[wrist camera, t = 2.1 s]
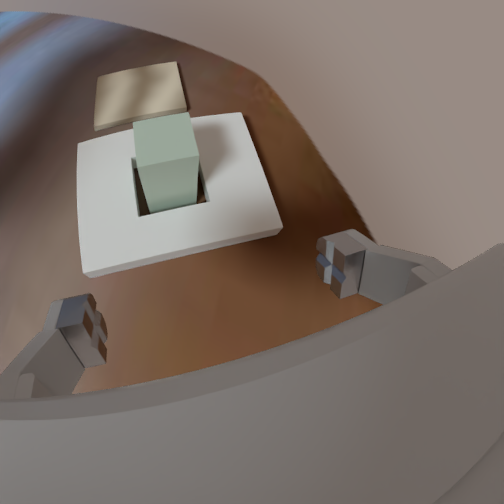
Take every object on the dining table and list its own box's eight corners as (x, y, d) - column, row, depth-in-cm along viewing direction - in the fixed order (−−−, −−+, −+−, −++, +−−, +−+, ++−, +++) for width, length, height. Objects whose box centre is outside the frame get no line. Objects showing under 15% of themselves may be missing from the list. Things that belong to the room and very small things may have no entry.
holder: (90, 278, 23) (83, 273, 21) (82, 154, 26) (77, 143, 24) (277, 234, 28) (283, 227, 26) (238, 123, 31) (241, 112, 29)
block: (150, 213, 26) (137, 167, 18) (144, 174, 27) (132, 122, 19) (196, 203, 27) (199, 155, 19) (187, 165, 28) (188, 112, 20)
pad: (95, 131, 27) (93, 126, 26) (98, 81, 29) (97, 77, 28) (186, 111, 30) (186, 107, 29) (176, 65, 32) (176, 61, 31)
